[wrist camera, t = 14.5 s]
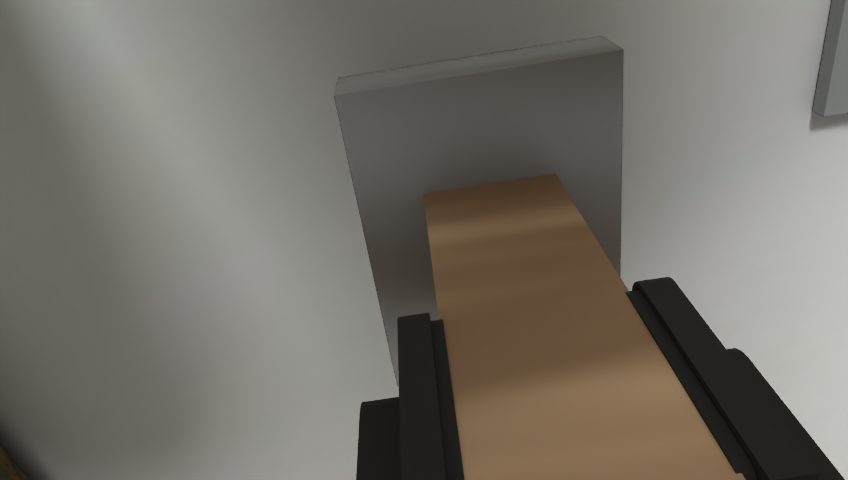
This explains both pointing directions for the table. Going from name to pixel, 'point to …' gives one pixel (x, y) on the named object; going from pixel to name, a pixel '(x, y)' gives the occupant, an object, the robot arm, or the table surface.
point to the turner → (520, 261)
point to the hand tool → (9, 468)
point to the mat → (834, 64)
